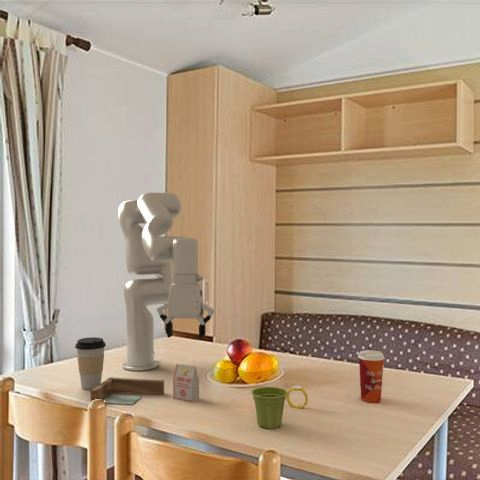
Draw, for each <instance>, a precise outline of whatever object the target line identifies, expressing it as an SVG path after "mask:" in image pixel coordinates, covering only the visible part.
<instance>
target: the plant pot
mask: <svg viewBox="0 0 480 480" xmlns="http://www.w3.org/2000/svg"><path fill="white" fill-rule="evenodd" d="M287 394H288V390H287V389H285V388H282V387H276V386H261V387H260V386H259V387H257V388H253V389H252V390H251V395H252V398H253V400H254V407H255V413H256V414H255V415H256V421H257V426H259V427H262V428H263V429H267V430H268V429H269V430H270V429H277V428H278V427H281V426H282V422H283V416H284V415H283V414H284V407H285V401H286V400H287V399H286V396H287Z"/></svg>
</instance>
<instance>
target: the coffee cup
mask: <svg viewBox="0 0 480 480" xmlns="http://www.w3.org/2000/svg"><path fill="white" fill-rule="evenodd" d="M105 347H106V342H105V341H104V339H103V338H102V337H94V336H93V337H91V336H90V337H84V338H80V339H77V342H76V343H75V346H74V348H75V349H76V350H77V351H76V352H77V356H76V357H77V358H76V359H77V365H78V372H79V378H80V385H81V389H83V390H90V389H91V390H92V389H94V388H95V387H97V386H98V385H100V384H101V383H102V378H103V377H102V376H103V372H104V371H103V370H104V360H105V359H104V358H105ZM91 390H90V391H91Z"/></svg>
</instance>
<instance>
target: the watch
mask: <svg viewBox="0 0 480 480" xmlns="http://www.w3.org/2000/svg"><path fill="white" fill-rule="evenodd" d="M292 391H298V392H301V393H302V394H303V396H304V399H305V400H304V403H303V405H296V404H293V402H291V398H290V393H291V392H292ZM287 392H288V394H287V396H286V399H285V400H286V402H287V404H288V406H290V407H291V408H295V409H299V410H300V409H303V408H304V407H305V406H306V405H307V404H308V401H309V398H308V397H309V396H308V393H307V392H306V390H305V389H304V388H303V386H301V385H292V387H291V388H290V389H288V390H287Z"/></svg>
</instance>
